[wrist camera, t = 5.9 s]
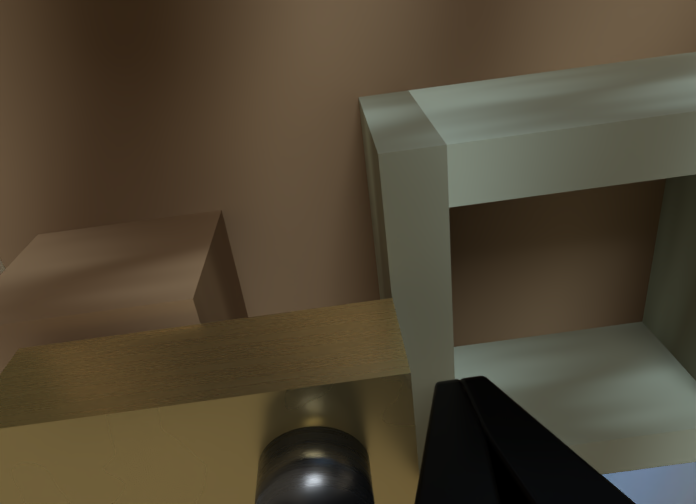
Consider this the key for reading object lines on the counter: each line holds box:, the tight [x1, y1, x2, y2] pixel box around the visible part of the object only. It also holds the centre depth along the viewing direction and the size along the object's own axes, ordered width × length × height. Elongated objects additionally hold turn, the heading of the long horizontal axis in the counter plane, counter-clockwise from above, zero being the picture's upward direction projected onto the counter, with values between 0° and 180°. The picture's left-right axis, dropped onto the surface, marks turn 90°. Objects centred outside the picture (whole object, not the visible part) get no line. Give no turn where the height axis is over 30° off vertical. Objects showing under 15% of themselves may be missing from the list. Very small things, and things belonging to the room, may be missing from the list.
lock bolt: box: [0, 298, 419, 504], centre depth 8 cm, size 6×3×3 cm, turn 97°
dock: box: [0, 0, 696, 474], centre depth 12 cm, size 20×14×5 cm
